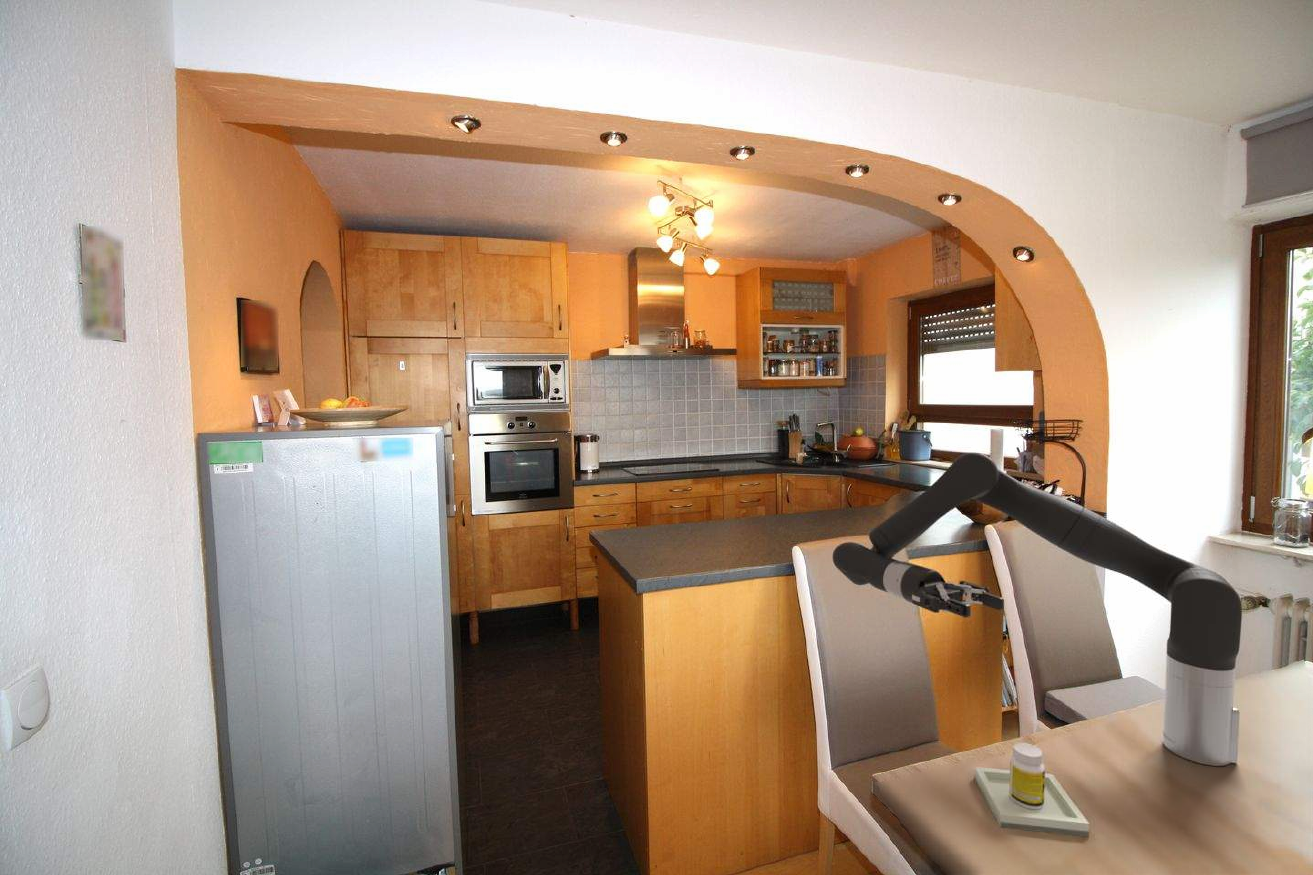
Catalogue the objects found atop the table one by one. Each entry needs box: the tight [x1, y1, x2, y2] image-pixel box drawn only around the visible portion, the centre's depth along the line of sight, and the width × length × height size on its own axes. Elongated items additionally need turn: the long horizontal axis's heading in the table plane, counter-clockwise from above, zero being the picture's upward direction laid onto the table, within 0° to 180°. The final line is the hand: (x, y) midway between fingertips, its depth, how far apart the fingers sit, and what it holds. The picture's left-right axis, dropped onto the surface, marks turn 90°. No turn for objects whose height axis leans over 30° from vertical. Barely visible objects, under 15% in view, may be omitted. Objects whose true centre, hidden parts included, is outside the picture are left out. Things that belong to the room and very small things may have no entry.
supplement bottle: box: [1009, 742, 1046, 809], centre depth 96 cm, size 5×5×8 cm
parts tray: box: [974, 766, 1090, 838], centre depth 96 cm, size 12×12×2 cm
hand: (986, 608), depth 106 cm, fingers open, 8 cm apart
